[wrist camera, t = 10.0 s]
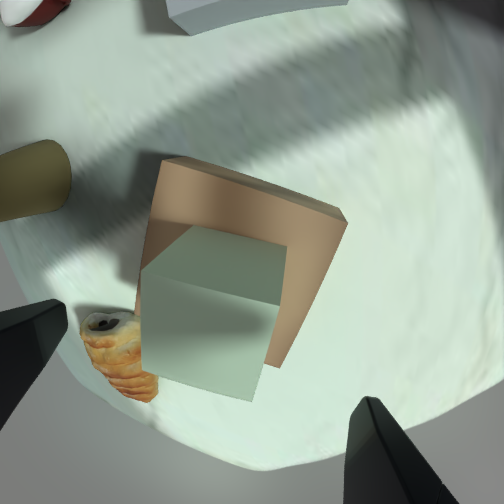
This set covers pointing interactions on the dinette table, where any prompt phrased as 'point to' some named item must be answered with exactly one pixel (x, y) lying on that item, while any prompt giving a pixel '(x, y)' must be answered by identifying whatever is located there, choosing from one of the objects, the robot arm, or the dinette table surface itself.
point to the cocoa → (30, 11)
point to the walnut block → (248, 230)
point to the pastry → (119, 353)
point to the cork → (33, 180)
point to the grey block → (233, 11)
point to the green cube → (211, 310)
